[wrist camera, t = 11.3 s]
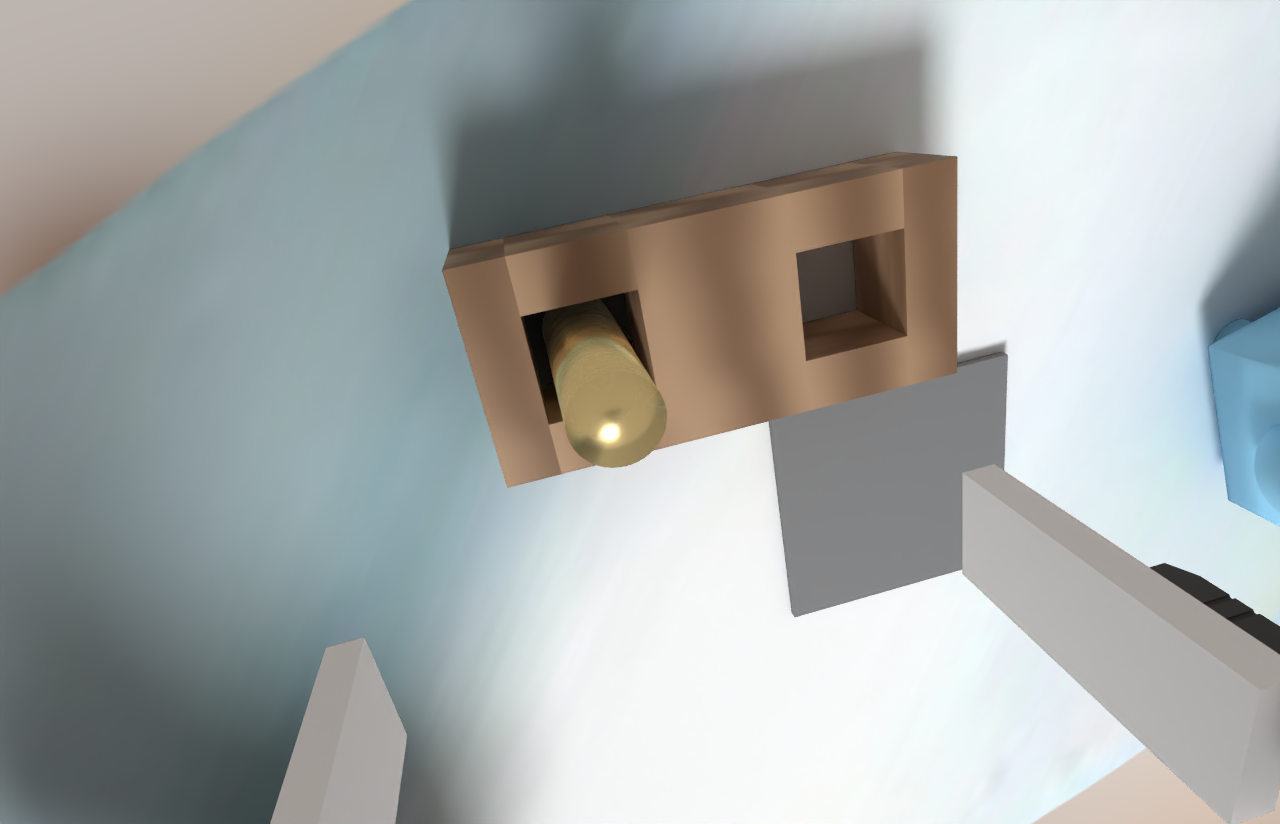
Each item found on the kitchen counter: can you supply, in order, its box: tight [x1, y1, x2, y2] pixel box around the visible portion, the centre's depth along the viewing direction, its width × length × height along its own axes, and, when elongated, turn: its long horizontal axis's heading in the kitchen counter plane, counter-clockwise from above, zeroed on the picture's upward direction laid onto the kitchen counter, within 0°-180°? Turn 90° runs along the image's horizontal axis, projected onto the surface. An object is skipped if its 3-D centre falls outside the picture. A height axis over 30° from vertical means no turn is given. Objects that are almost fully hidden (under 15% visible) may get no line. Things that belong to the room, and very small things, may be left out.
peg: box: [542, 299, 667, 468], centre depth 29 cm, size 4×4×12 cm
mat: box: [769, 352, 1008, 617], centre depth 42 cm, size 14×14×1 cm
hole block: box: [442, 152, 957, 488], centre depth 33 cm, size 22×10×5 cm, turn 101°
